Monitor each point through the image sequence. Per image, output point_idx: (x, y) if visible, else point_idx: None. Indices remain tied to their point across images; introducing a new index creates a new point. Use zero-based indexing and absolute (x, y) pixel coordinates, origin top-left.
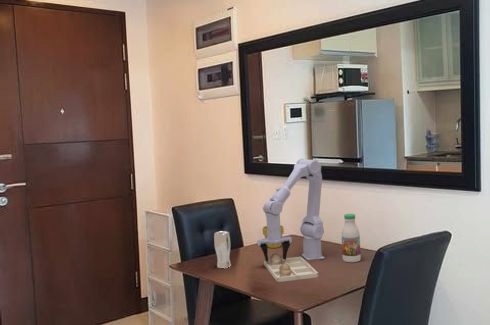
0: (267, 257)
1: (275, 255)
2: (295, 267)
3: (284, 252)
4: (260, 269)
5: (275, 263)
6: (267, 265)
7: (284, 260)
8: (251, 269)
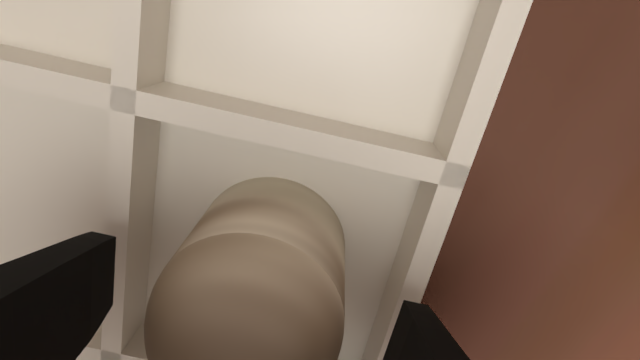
0: (434, 347)
1: (256, 321)
2: (34, 27)
3: (2, 309)
4: (481, 281)
5: (300, 216)
6: (450, 217)
7: None
8: (569, 339)
